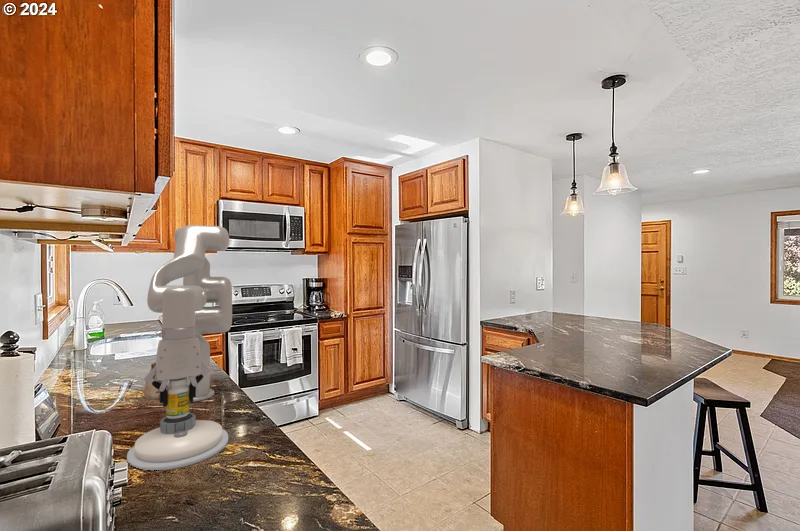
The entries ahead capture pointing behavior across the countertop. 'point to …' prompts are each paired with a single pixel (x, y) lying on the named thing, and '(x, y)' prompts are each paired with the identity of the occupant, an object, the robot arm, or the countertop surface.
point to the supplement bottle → (178, 399)
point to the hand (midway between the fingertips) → (178, 402)
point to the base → (176, 463)
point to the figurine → (152, 388)
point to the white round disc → (178, 439)
